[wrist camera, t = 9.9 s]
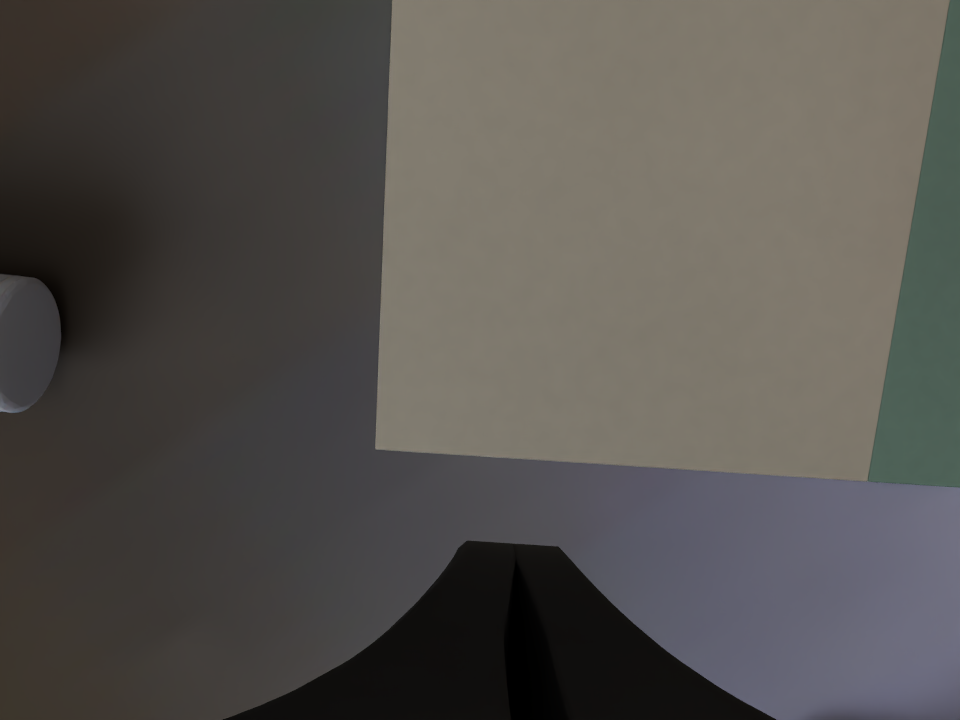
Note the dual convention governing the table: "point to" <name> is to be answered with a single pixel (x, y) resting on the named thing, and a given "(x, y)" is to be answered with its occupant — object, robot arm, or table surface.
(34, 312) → the grey cylindrical rod
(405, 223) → the desk pad
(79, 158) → the table surface
